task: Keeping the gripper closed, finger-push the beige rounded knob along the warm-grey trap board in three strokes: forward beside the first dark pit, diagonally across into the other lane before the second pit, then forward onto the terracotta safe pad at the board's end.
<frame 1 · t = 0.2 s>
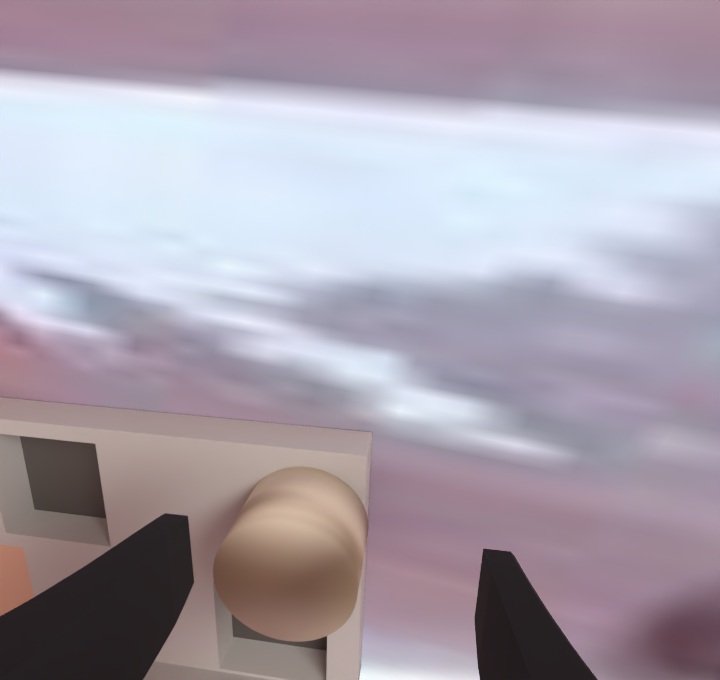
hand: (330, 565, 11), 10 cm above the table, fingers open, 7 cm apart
beige rounded knob: (306, 520, 20), point 2 cm above the table, touching trap board
trap board: (136, 531, 24), on the table
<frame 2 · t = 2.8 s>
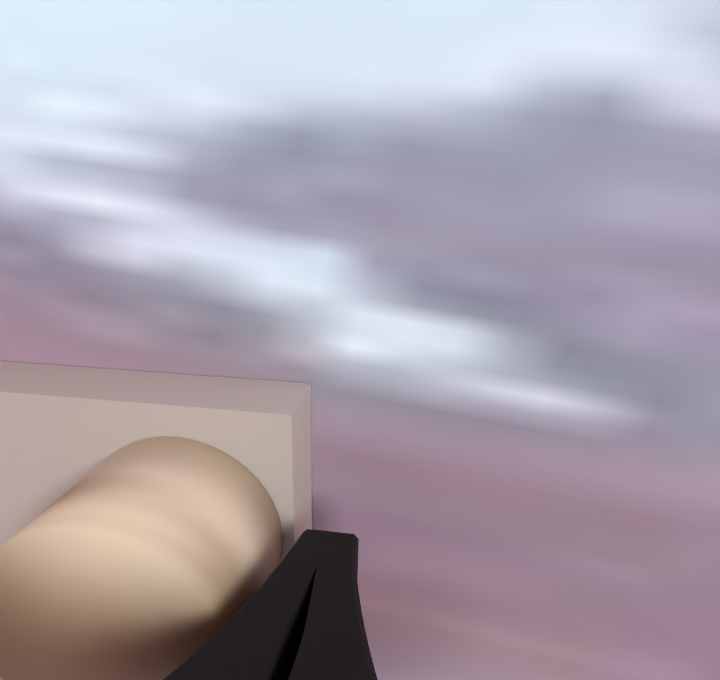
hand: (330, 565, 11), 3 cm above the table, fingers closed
beige rounded knob: (184, 527, 13), point 2 cm above the table, touching gripper
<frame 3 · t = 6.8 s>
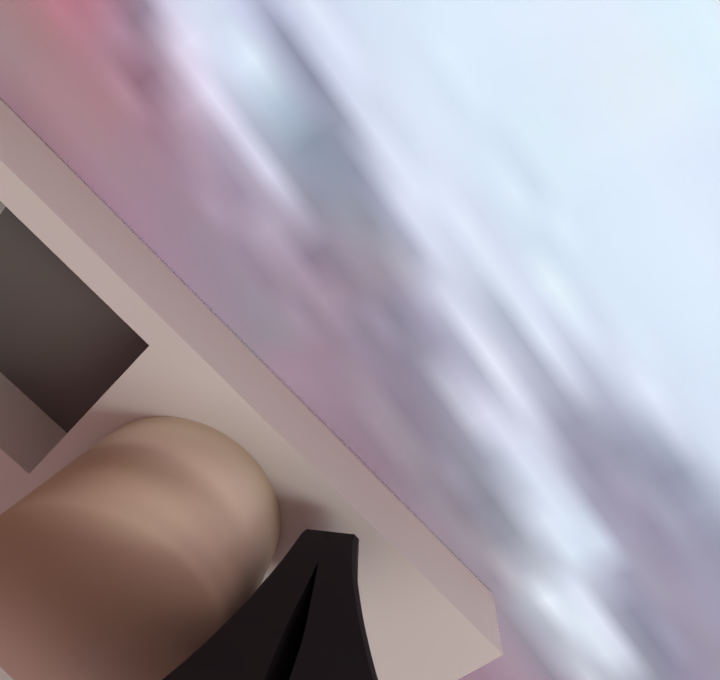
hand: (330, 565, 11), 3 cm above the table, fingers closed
beige rounded knob: (181, 510, 12), point 2 cm above the table, touching gripper
trap board: (67, 451, 15), on the table
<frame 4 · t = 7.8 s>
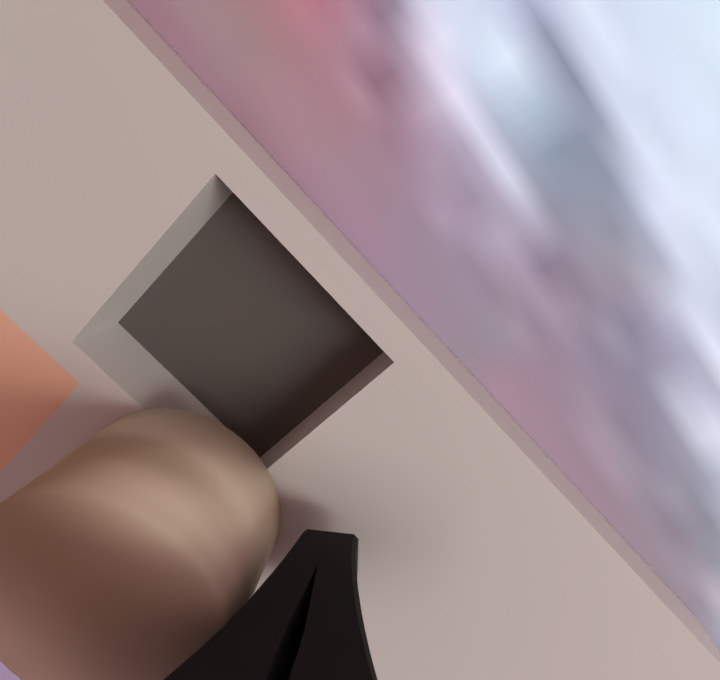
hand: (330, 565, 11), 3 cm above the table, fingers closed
beige rounded knob: (180, 502, 12), point 2 cm above the table, touching gripper
trap board: (244, 469, 14), on the table
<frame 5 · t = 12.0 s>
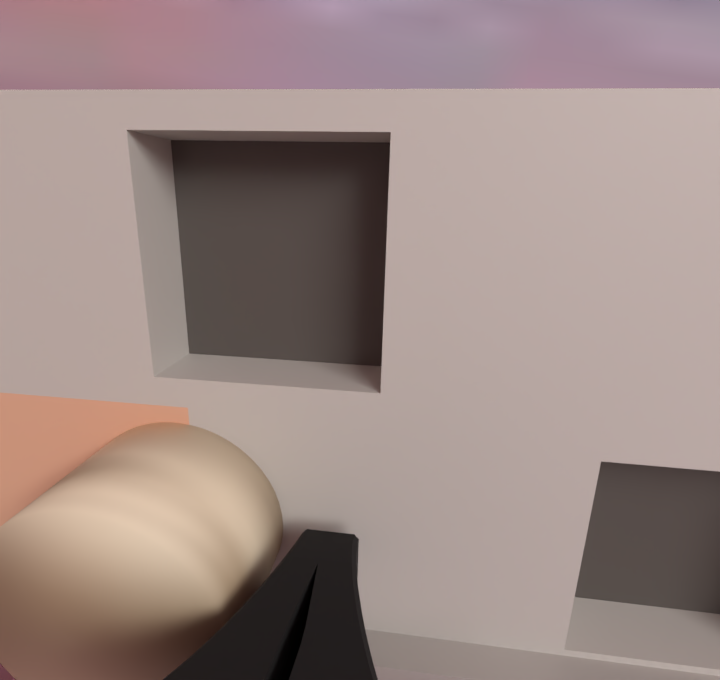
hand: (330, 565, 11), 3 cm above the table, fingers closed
beige rounded knob: (184, 514, 12), point 2 cm above the table, touching gripper, trap board
trap board: (385, 389, 13), on the table
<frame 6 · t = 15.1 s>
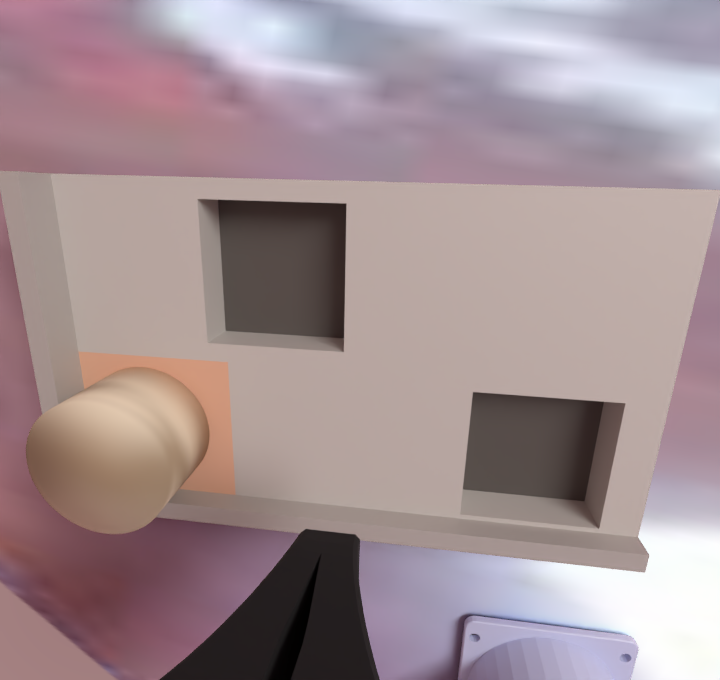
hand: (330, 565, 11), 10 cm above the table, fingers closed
beige rounded knob: (149, 425, 20), point 2 cm above the table, touching trap board
trap board: (351, 354, 20), on the table
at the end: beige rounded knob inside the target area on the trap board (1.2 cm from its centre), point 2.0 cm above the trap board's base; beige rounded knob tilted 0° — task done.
